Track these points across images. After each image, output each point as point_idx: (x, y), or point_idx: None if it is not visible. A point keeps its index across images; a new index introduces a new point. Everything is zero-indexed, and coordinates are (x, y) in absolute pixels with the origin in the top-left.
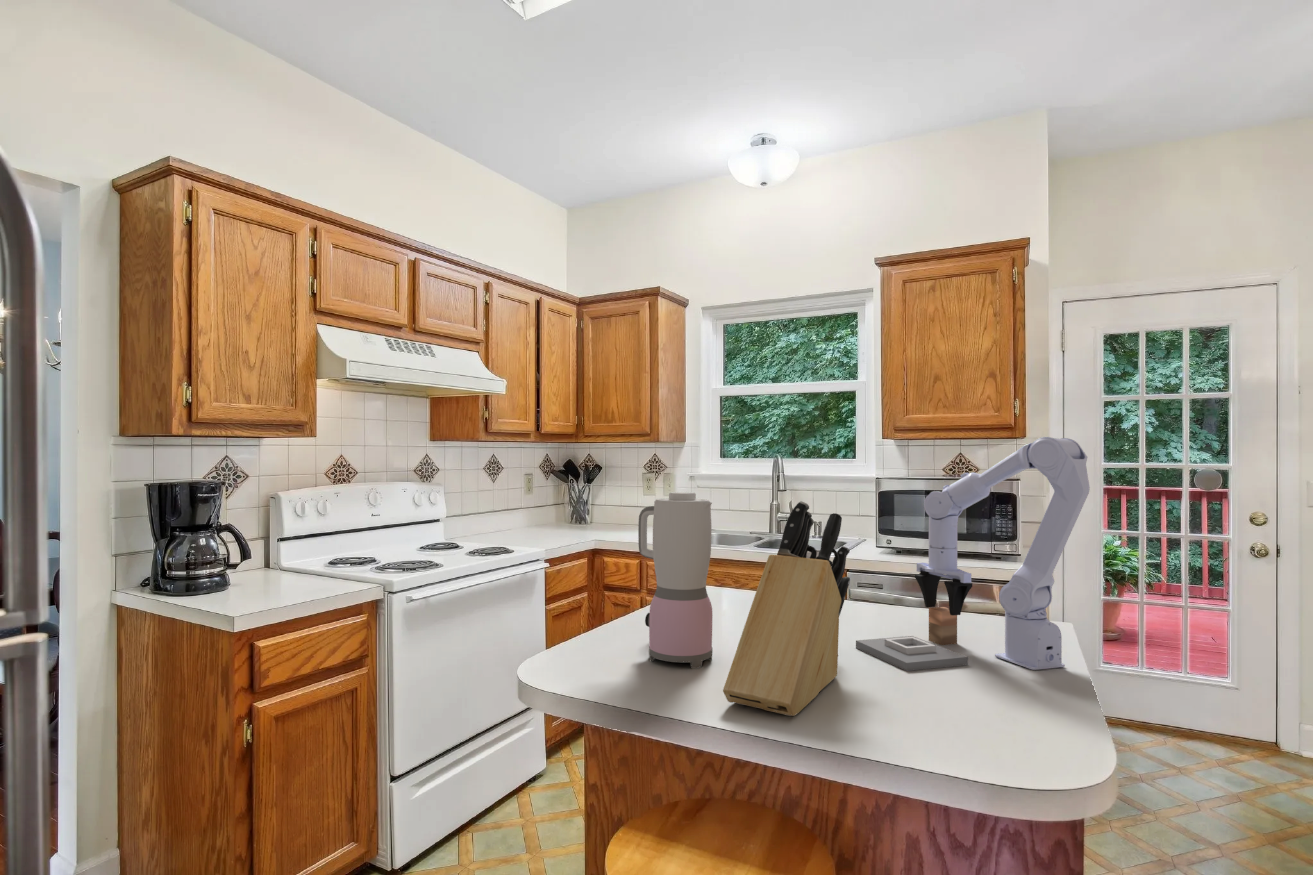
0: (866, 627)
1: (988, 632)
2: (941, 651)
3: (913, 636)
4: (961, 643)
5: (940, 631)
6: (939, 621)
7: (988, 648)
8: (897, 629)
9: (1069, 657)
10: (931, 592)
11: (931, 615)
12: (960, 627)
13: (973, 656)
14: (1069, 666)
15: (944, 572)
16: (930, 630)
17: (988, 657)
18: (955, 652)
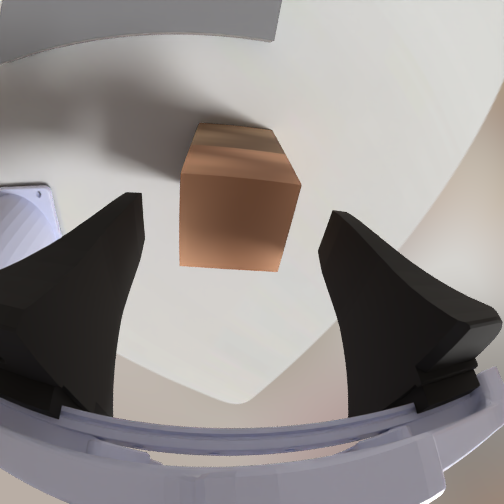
0: (469, 97)
1: (256, 329)
2: (53, 10)
3: (264, 37)
4: None
5: (201, 136)
6: (206, 152)
7: None
8: (414, 155)
9: None
10: (353, 294)
11: (270, 164)
12: (319, 311)
13: (62, 130)
14: None
15: (52, 468)
16: (266, 140)
17: (50, 166)
18: (31, 51)
